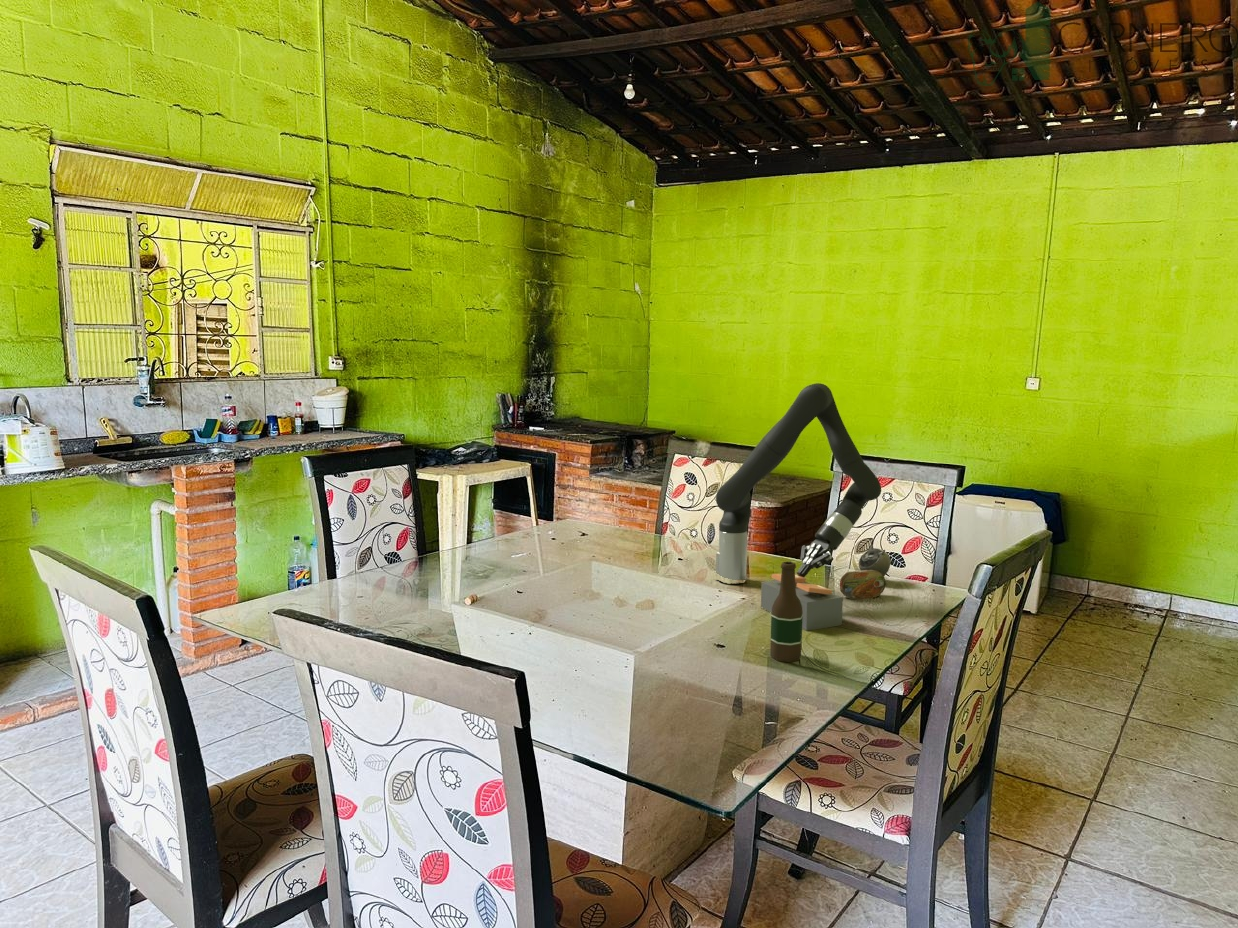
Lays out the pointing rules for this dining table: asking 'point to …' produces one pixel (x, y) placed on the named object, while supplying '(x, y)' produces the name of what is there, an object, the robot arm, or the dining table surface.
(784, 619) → the beer bottle
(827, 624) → the switch box
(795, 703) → the dining table surface
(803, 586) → the orange flat board
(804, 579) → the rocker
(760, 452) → the robot arm
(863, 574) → the tin
